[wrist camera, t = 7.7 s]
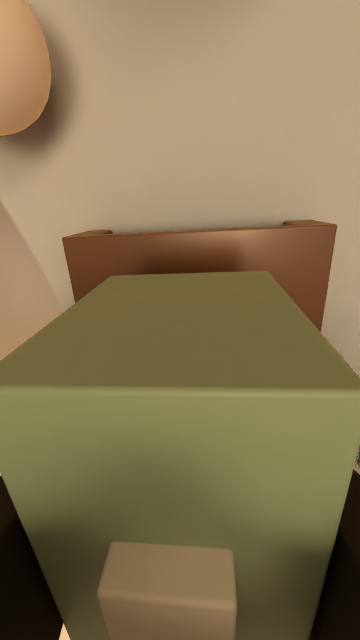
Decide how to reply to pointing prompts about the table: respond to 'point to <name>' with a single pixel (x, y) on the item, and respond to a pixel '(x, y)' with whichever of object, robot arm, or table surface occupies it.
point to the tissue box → (181, 457)
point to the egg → (21, 67)
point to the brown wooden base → (212, 257)
